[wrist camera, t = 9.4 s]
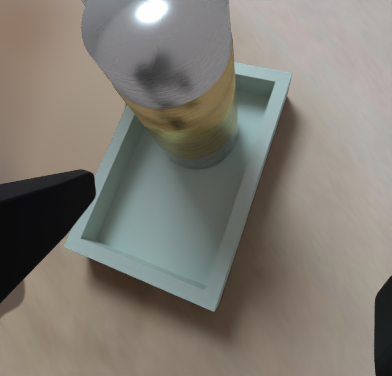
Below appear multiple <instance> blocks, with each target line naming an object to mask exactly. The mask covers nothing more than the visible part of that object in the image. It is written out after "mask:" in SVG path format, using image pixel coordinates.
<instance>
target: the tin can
mask: <svg viewBox="0 0 392 376" xmlns="http://www.w3.org/2000/svg"><path fill="white" fill-rule="evenodd" d="M81 30H82V38H83V42H84V45H85V47H86V49H87V51H88V52H89V54H90V55H91V57H92V58H93V59H94V60H95V62H96V63H97V65H98V66H99V67H100V68H101V70H102V71H103V72H104V74H105V75H106V76H107V77H108V79H109V80H110V81H111V82H112V84H113V86H114V88H115V89H116V91H117V92H118V93H119V95H120V96H121V97H122V98H123V100H124V101H125V102H126V104H127V105H128V106H129V107H130V109H131V110H132V111H133V112H134V114H135V115H136V116H137V118H138V119H139V120H140V121H141V123H142V124H143V125H144V127H145V128H146V129H147V130H148V132H149V133H150V134H151V136H152V137H153V138H154V139H155V141H156V142H157V143H158V145H159V146H160V147H161V148H162V149H163V150H164V151H165V152H166V154H167V155H168V156H169V158H170V159H171V160H172V161H174V162H175V163H176V164H178V165H180V166H182V167H184V168H188V169H195V170H198V169H206V168H210V167H212V166H215V165H217V164H219V163H220V162H222V161H223V160H224V159H225V158H226V157H227V156H228V155H229V154H230V153H231V152H232V150H233V148H234V147H235V144H236V142H237V138H238V109H237V95H236V81H235V67H234V53H233V40H232V34H231V26H230V12H229V0H88V2H87V5H86V7H85V10H84V13H83V18H82V26H81Z"/></svg>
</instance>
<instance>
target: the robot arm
mask: <svg viewBox="0 0 392 376" xmlns="http://www.w3.org/2000/svg"><path fill="white" fill-rule="evenodd" d="M95 197H96V187H95V178H94V175H93V173H91V172H88V171H86V170H75V171H69V172H64V173H59V174H53V175H48V176H42V177H37V178H31V179H26V180H21V181H16V182H10V183H4V184H0V303H1V302H2V301H3V300H4V299H5V298H6V297H7V296H8V295H9V294H10V293H11V292H12V291H13V290H14V289H15V288H16V286H17V285H19V283H20V282H21V281H22V280H23V279H24V278H25V277H26V276H27V275H28V274H29V273H30V272H31V271H32V270H33V269H34V268H35V267H36V266H37V265H38V264H39V263H40V262H41V261H42V260H43V259H44V258H45V257H46V255H47V254H48V253H49V252H50V251H51V250H52V249H53V248H54V247H55V246H56V245H57V244H58V243H59V242H60V241H61V240H62V239H63V238H64V237H65V236H66V234H67V233H68V232H69V231H70V229H72V227H73V226H74V225H75V224H76V222H77V221H78V220H79V218H80V217H81V216H82V215H83V213H84V212H85V211H86V210H87V208H88V207H89V206H90V204H91V203H92V202H93V201H94V199H95ZM374 362H375V373H376V376H392V276H391V277H390V278H389V279H388V280H387V282H386V283H385V284H384V285H383V287H382V288H381V289H380V291H379V292H378V293H377V295H376V298H375V326H374Z"/></svg>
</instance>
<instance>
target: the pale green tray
mask: <svg viewBox="0 0 392 376" xmlns="http://www.w3.org/2000/svg"><path fill="white" fill-rule="evenodd" d="M234 67H235V81H236V95H237V109H238V138H237V142H236V144H235V147H234V148H233V150H232V152H231V153H230V154H229V155H228V156H227V157H226V158H225V159H224V160H223V161H222V162H220V163H219V164H217V165H215V166H212V167H210V168H206V169H198V170H195V169H188V168H184V167H182V166H180V165H178V164H176V163H175V162H174V161H172V160H171V159H170V158H169V156H168V155H167V154H166V152H165V151H164V150H163V149H162V148H161V147H160V146H159V145H158V143H157V142H156V141H155V139H154V138H153V137H152V136H151V134H150V133H149V132H148V130H147V129H146V128H145V127H144V125H143V124H142V123H141V121H140V120H139V119H138V118H137V116H136V115H135V114H134V112H133V111H132V110H131V109H130V107H129V106H128V105H127V106H126V108H125V111H124V113H123V115H122V118H121V120H120V122H119V124H118V126H117V129H116V131H115V133H114V135H113V138H112V140H111V142H110V144H109V147H108V149H107V152H106V153H105V156H104V158H103V160H102V162H101V165H100V167H99V169H98V171H97V174H96V176H95V187H96V197H95V199H94V201H93V202H92V203H91V204H90V206H89V207H88V208H87V210H86V211H85V212H84V213H83V215H82V216H81V217H80V218H79V220H78V221H77V222H76V224H75V225H74V226H73V228H72V230H71V232H70V234H69V237H68V239H67V241H66V243H65V246H64V247H66V248H68V249H70V250H72V251H75V252H77V253H79V254H82V255H84V256H86V257H89V258H91V259H93V260H95V261H98V262H100V263H102V264H105V265H107V266H109V267H112V268H114V269H116V270H119V271H121V272H123V273H125V274H128V275H130V276H132V277H135V278H137V279H139V280H142V281H144V282H146V283H148V284H151V285H153V286H155V287H158V288H160V289H162V290H165V291H167V292H169V293H171V294H174V295H176V296H178V297H181V298H183V299H185V300H188V301H190V302H192V303H194V304H197V305H199V306H201V307H204V308H206V309H208V310H211V311H213V312H215V310H216V308H217V307H218V305H219V303H220V300H221V297H222V294H223V291H224V288H225V285H226V282H227V278H228V275H229V272H230V269H231V266H232V263H233V260H234V257H235V254H236V251H237V248H238V245H239V242H240V239H241V236H242V232H243V229H244V226H245V223H246V220H247V217H248V214H249V211H250V208H251V205H252V202H253V199H254V196H255V193H256V189H257V186H258V183H259V180H260V177H261V174H262V171H263V168H264V165H265V162H266V159H267V156H268V153H269V150H270V147H271V143H272V140H273V137H274V134H275V131H276V128H277V125H278V122H279V119H280V116H281V113H282V110H283V107H284V104H285V101H286V97H287V94H288V90H289V86H290V81H291V77H292V73H291V72H285V71H280V70H274V69H269V68H263V67H258V66H252V65H247V64H241V63H236V62H234Z"/></svg>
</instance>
